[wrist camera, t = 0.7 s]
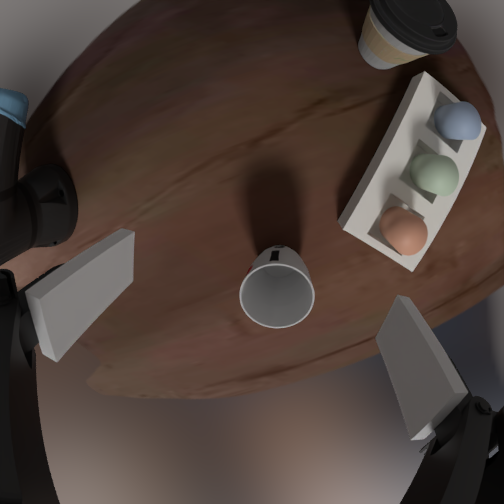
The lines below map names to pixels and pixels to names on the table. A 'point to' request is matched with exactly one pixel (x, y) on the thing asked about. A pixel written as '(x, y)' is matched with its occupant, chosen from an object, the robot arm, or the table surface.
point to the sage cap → (434, 173)
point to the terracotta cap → (403, 230)
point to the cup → (277, 288)
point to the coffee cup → (406, 31)
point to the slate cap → (458, 121)
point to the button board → (397, 170)
